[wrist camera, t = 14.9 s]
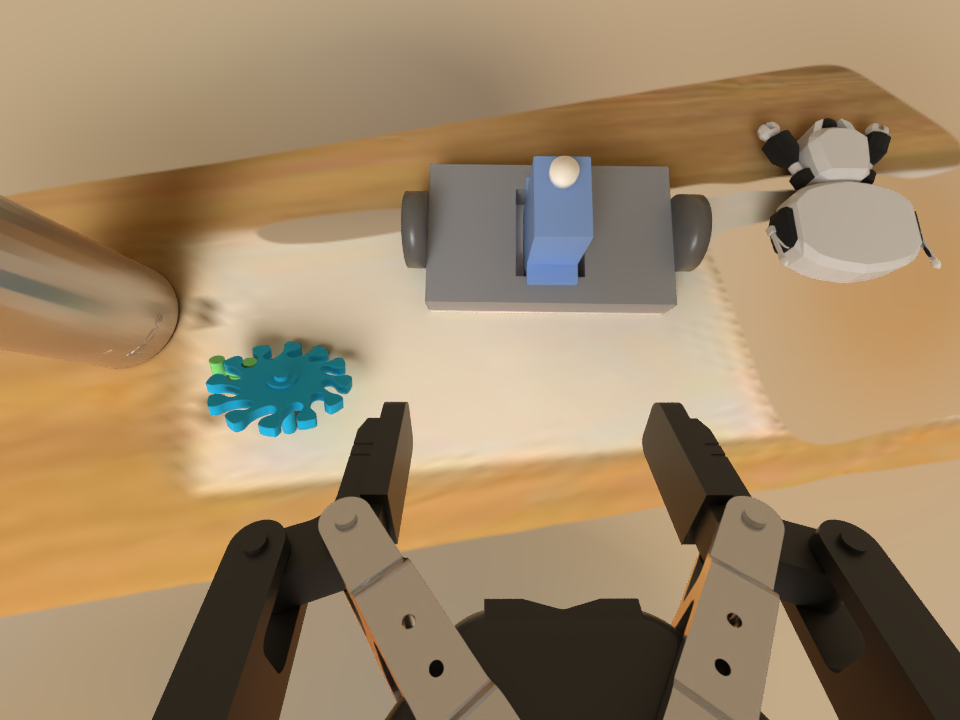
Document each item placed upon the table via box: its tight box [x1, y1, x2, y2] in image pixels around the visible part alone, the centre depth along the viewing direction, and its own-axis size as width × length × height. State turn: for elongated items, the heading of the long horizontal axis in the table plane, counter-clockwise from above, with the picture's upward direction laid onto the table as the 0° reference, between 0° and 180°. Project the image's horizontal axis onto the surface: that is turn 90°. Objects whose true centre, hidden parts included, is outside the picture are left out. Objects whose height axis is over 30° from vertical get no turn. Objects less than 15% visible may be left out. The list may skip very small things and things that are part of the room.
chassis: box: [401, 164, 712, 315], centre depth 35 cm, size 12×23×6 cm, turn 89°
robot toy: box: [757, 118, 941, 283], centre depth 36 cm, size 12×4×15 cm
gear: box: [206, 342, 352, 437], centre depth 33 cm, size 11×6×10 cm
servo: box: [523, 156, 593, 285], centre depth 33 cm, size 9×4×9 cm, turn 179°
